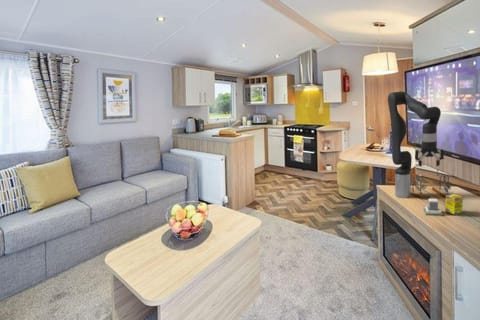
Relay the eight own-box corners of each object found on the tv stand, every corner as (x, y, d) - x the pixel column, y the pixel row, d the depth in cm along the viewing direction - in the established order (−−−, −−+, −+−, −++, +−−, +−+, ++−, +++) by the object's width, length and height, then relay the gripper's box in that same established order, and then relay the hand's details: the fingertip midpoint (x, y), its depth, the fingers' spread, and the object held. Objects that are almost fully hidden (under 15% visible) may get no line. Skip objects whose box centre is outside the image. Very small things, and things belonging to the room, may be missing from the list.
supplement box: (454, 215, 157) (455, 198, 155) (444, 212, 163) (445, 195, 161) (462, 213, 158) (463, 196, 156) (452, 210, 164) (453, 193, 162)
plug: (428, 209, 167) (428, 198, 165) (436, 210, 165) (436, 198, 163) (429, 212, 163) (429, 200, 162) (437, 212, 161) (437, 201, 160)
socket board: (423, 209, 170) (423, 205, 169) (439, 210, 166) (439, 206, 165) (425, 215, 162) (426, 211, 162) (443, 216, 158) (443, 212, 158)
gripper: (442, 138, 162) (441, 164, 165) (414, 140, 168) (414, 164, 171) (445, 140, 155) (444, 167, 158) (416, 142, 162) (416, 167, 165)
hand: (428, 166), depth 165 cm, fingers open, 8 cm apart
